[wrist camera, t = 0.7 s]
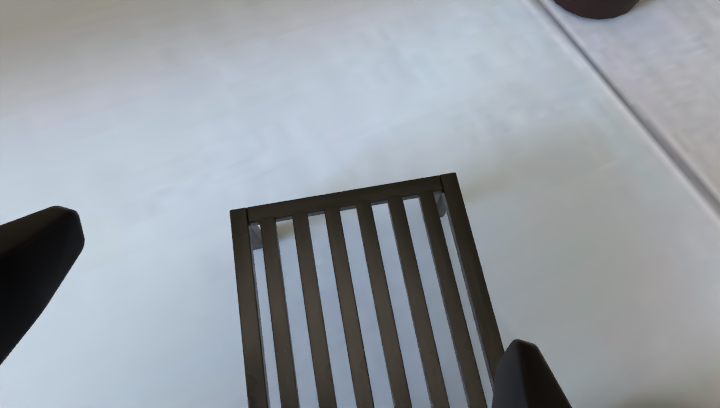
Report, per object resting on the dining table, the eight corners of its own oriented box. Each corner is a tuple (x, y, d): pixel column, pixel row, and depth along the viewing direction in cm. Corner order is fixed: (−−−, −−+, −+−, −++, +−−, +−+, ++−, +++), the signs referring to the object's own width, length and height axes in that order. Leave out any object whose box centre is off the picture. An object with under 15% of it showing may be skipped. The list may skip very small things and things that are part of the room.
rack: (509, 474, 23) (548, 499, 18) (280, 522, 22) (260, 561, 18) (440, 204, 28) (457, 168, 23) (249, 236, 27) (227, 207, 22)
